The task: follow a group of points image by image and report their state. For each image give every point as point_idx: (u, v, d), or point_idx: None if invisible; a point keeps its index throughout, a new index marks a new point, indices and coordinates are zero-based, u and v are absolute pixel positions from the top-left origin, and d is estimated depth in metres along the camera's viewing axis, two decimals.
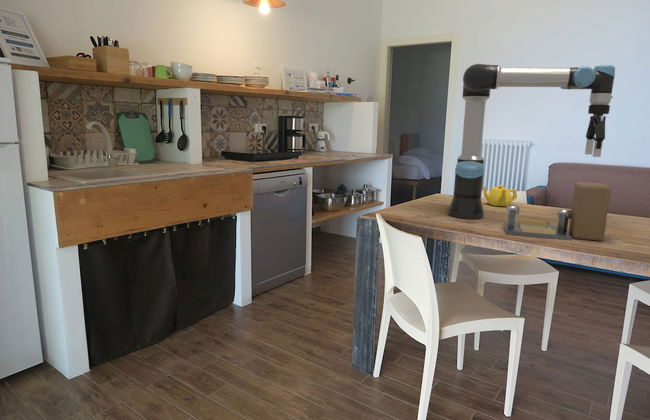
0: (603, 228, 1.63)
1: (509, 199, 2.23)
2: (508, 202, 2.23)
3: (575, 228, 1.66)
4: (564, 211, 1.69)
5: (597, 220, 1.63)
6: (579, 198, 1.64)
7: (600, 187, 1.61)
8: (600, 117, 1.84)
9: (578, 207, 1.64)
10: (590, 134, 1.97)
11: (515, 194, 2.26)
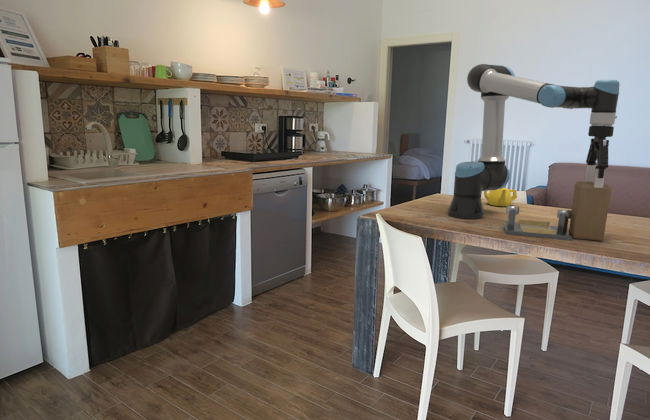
0: (603, 228, 1.63)
1: (509, 199, 2.23)
2: (508, 202, 2.23)
3: (575, 228, 1.66)
4: (564, 211, 1.69)
5: (597, 220, 1.63)
6: (579, 198, 1.64)
7: None
8: (602, 141, 1.56)
9: (578, 207, 1.64)
10: (591, 159, 1.69)
11: (515, 194, 2.26)
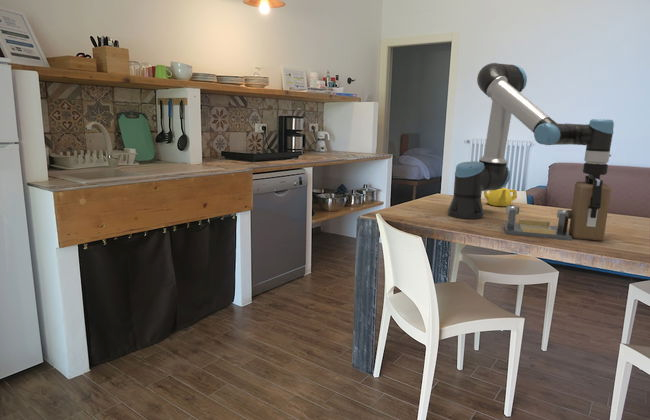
0: (603, 228, 1.63)
1: (509, 199, 2.23)
2: (508, 202, 2.23)
3: (575, 228, 1.66)
4: (564, 211, 1.69)
5: (597, 219, 1.63)
6: (579, 198, 1.64)
7: None
8: (596, 181, 1.59)
9: (578, 207, 1.64)
10: None
11: (515, 194, 2.26)
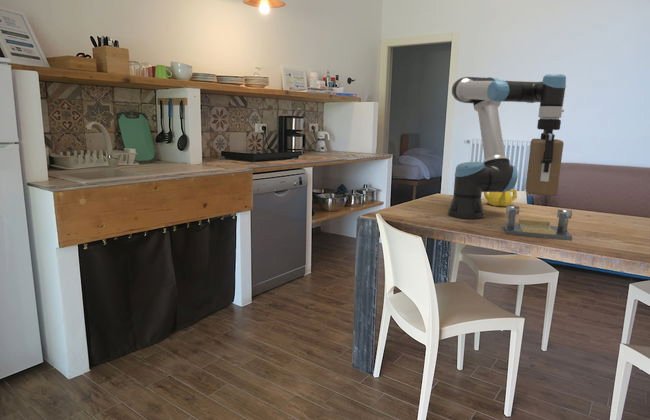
0: (556, 183, 1.65)
1: (509, 199, 2.23)
2: (508, 202, 2.23)
3: (529, 183, 1.68)
4: (564, 211, 1.69)
5: (550, 174, 1.65)
6: (533, 153, 1.66)
7: None
8: (548, 136, 1.61)
9: (532, 162, 1.66)
10: None
11: (515, 194, 2.26)
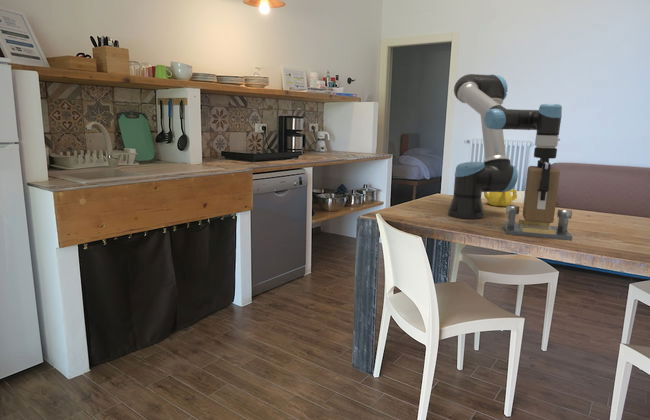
0: (553, 210, 1.67)
1: (509, 199, 2.23)
2: (508, 202, 2.23)
3: (526, 211, 1.70)
4: (564, 211, 1.69)
5: (547, 202, 1.67)
6: (529, 181, 1.68)
7: None
8: (544, 165, 1.63)
9: (529, 190, 1.68)
10: None
11: (515, 194, 2.26)
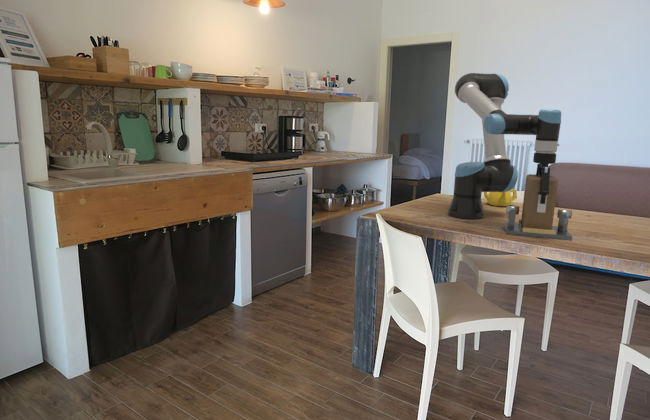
0: (551, 219, 1.68)
1: (509, 199, 2.23)
2: (508, 202, 2.23)
3: (525, 219, 1.71)
4: (564, 211, 1.69)
5: (545, 211, 1.68)
6: (528, 190, 1.69)
7: None
8: (544, 168, 1.63)
9: (527, 199, 1.69)
10: None
11: (515, 194, 2.26)
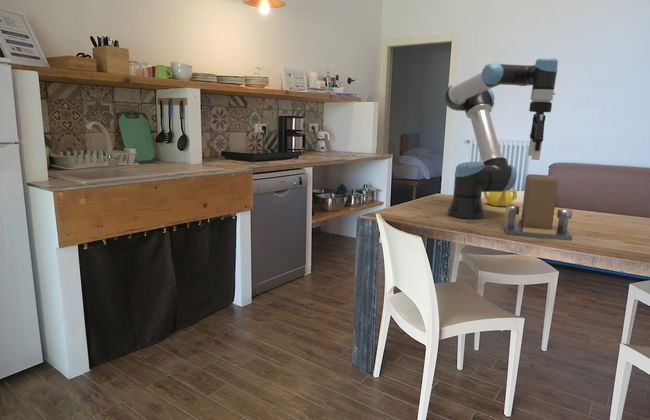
0: (551, 219, 1.68)
1: (509, 199, 2.23)
2: (508, 202, 2.23)
3: (525, 219, 1.71)
4: (564, 211, 1.69)
5: (545, 211, 1.68)
6: (528, 190, 1.69)
7: (547, 179, 1.66)
8: (539, 116, 1.67)
9: (527, 199, 1.69)
10: (533, 134, 1.80)
11: (515, 194, 2.26)
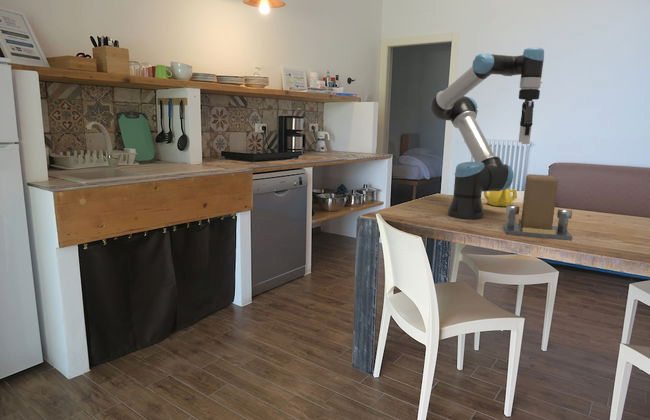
0: (551, 219, 1.68)
1: (509, 199, 2.23)
2: (508, 202, 2.23)
3: (525, 219, 1.71)
4: (564, 211, 1.69)
5: (545, 211, 1.68)
6: (528, 190, 1.69)
7: (547, 179, 1.66)
8: (528, 102, 1.76)
9: (527, 199, 1.69)
10: (523, 121, 1.89)
11: (515, 194, 2.26)
